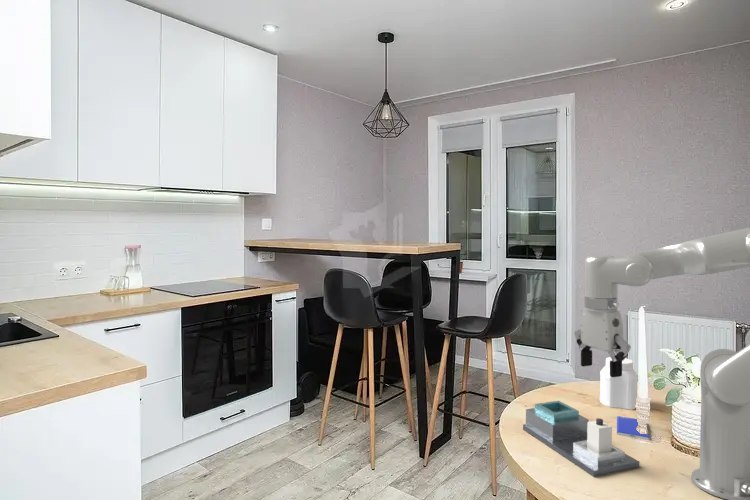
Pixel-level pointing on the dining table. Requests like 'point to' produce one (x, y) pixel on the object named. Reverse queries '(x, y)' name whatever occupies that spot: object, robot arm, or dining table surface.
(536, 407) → the grey desk organizer
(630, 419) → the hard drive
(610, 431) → the plug
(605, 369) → the jar
